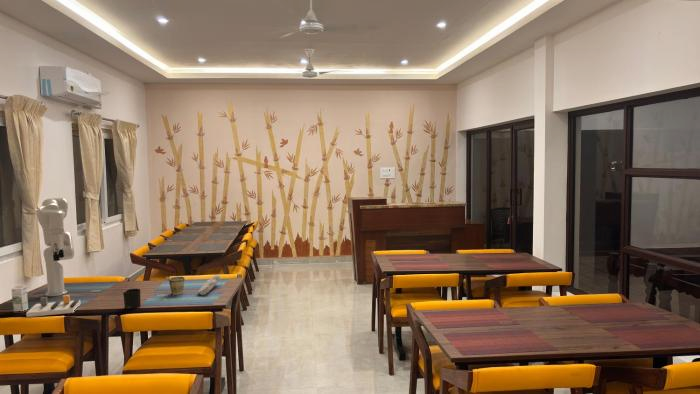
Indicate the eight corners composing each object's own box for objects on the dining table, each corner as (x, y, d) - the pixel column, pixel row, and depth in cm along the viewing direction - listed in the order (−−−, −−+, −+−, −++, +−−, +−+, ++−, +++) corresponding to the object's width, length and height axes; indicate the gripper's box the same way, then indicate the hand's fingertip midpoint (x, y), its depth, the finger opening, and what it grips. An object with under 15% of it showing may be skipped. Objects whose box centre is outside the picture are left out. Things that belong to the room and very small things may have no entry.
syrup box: (28, 309, 301) (27, 285, 300) (22, 312, 296) (21, 288, 294) (19, 309, 301) (17, 285, 300) (12, 312, 295) (10, 288, 294)
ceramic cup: (180, 295, 325) (179, 280, 324) (166, 295, 327) (165, 280, 326) (190, 290, 338) (189, 275, 337) (176, 289, 340) (176, 275, 339)
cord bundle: (57, 302, 305) (57, 299, 305) (79, 300, 309) (79, 297, 308) (50, 310, 291) (50, 306, 291) (73, 308, 294) (73, 304, 294)
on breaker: (42, 304, 301) (41, 297, 300) (47, 304, 301) (47, 296, 301) (40, 305, 298) (40, 298, 298) (46, 305, 299) (46, 297, 299)
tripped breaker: (64, 302, 304) (64, 295, 304) (70, 302, 305) (69, 294, 304) (63, 303, 302) (63, 296, 301) (69, 303, 302) (68, 295, 302)
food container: (223, 279, 353) (219, 272, 352) (212, 294, 323) (207, 286, 322) (208, 286, 353) (204, 279, 353) (196, 301, 324) (192, 294, 323)
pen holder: (121, 307, 302) (120, 290, 302) (137, 303, 309) (136, 287, 308) (127, 310, 296) (126, 293, 295) (143, 307, 302) (142, 290, 301)
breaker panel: (36, 307, 304) (36, 303, 304) (80, 303, 311) (80, 299, 311) (26, 317, 287) (26, 312, 287) (73, 312, 294) (73, 308, 293)
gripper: (53, 229, 314) (55, 256, 315) (45, 233, 297) (47, 262, 299) (67, 229, 316) (69, 255, 317) (59, 233, 299) (61, 261, 301)
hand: (58, 259), depth 308 cm, fingers open, 9 cm apart
